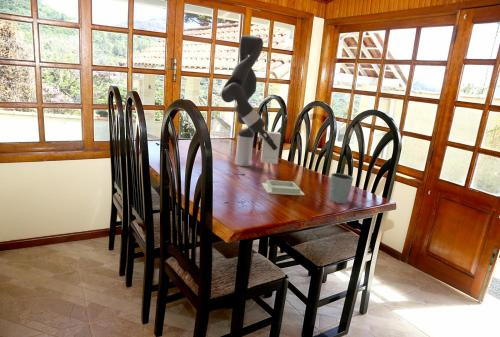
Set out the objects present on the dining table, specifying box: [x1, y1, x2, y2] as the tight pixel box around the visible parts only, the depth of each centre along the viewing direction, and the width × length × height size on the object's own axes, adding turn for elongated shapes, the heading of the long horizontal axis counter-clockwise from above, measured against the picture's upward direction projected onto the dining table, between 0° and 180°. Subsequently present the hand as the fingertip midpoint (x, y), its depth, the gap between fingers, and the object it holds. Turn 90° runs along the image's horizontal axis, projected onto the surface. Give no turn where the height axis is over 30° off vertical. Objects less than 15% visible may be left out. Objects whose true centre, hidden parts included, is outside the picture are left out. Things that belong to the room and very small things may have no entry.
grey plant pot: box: [328, 172, 354, 204], centre depth 164 cm, size 10×10×12 cm
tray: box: [261, 179, 306, 196], centre depth 171 cm, size 14×18×3 cm
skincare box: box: [260, 130, 282, 165], centre depth 170 cm, size 8×6×15 cm
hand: (274, 147), depth 170 cm, fingers closed on skincare box, 6 cm apart
